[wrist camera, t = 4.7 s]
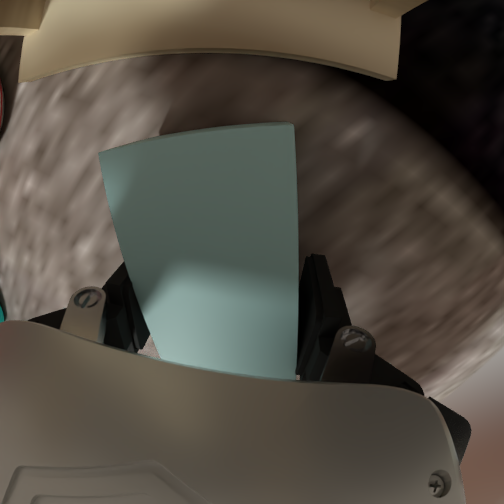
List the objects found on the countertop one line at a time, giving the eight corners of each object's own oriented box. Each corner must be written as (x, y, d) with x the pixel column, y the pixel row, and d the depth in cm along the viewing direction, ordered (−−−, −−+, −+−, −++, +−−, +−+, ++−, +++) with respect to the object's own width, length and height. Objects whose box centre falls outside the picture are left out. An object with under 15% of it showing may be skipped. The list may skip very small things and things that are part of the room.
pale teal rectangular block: (292, 359, 15) (293, 421, 11) (204, 358, 15) (189, 416, 12) (287, 121, 9) (293, 124, 6) (155, 136, 10) (98, 152, 6)
